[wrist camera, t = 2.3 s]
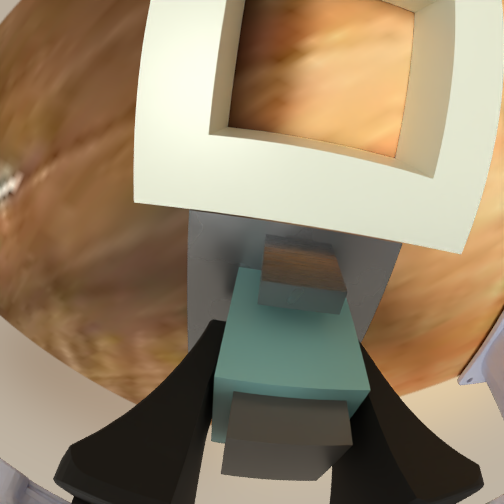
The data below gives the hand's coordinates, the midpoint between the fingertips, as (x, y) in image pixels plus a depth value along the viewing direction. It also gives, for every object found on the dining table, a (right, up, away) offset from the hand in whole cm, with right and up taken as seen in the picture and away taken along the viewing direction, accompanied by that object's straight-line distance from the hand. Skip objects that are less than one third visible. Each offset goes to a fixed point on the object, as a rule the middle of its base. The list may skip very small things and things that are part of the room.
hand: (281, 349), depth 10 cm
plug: (0, +1, +2) cm, 2 cm away
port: (+1, +10, -2) cm, 10 cm away
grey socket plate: (0, +1, +2) cm, 3 cm away
